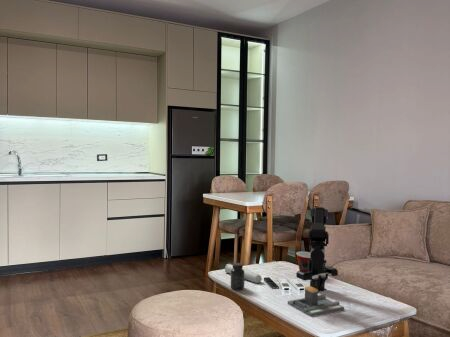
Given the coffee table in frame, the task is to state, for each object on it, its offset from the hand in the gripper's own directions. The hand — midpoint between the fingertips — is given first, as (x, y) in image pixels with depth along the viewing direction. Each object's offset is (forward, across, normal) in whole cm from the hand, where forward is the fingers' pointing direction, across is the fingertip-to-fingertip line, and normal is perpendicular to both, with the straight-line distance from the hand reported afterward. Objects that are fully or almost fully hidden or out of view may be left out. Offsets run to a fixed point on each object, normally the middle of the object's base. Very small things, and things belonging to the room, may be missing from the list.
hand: (316, 292), depth 179 cm
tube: (+6, +8, -50) cm, 51 cm away
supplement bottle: (+6, +20, -36) cm, 42 cm away
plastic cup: (+6, -26, -40) cm, 48 cm away
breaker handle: (+5, +3, 0) cm, 6 cm away
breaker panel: (+6, +1, 0) cm, 6 cm away
